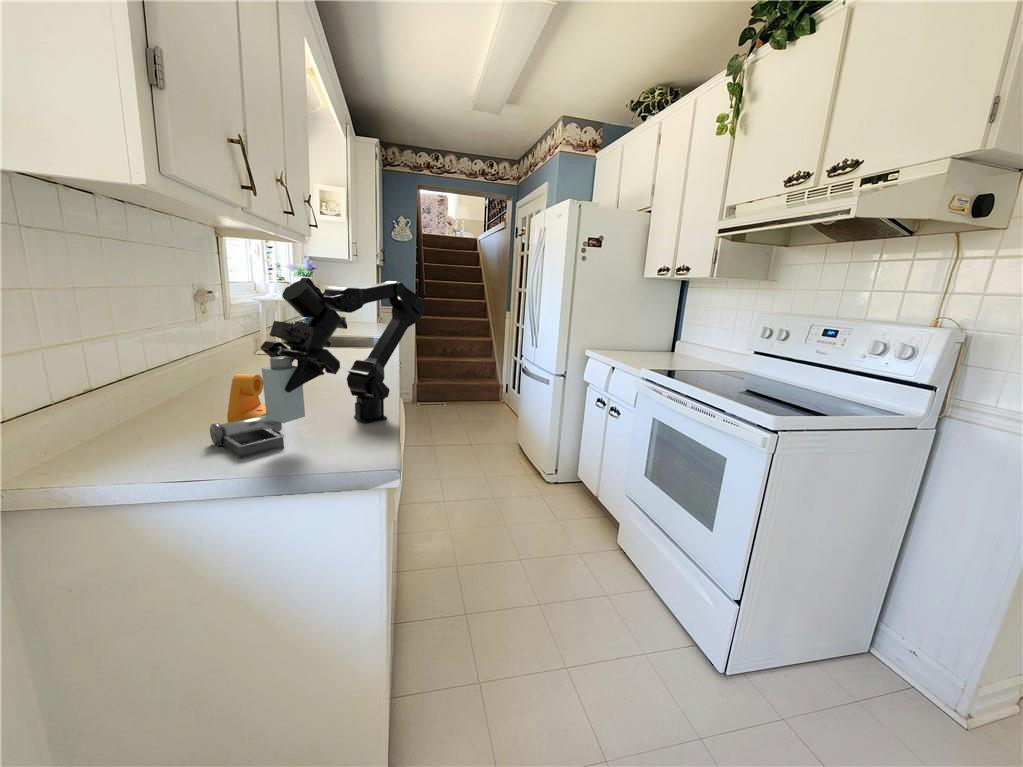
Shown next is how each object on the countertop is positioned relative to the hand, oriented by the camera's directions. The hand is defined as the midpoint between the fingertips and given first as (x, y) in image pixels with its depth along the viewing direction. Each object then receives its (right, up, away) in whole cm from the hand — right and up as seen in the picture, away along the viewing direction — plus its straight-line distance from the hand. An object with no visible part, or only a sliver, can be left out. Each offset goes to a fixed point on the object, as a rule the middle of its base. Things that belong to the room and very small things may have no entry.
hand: (277, 389), depth 87 cm
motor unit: (-8, -12, +6) cm, 16 cm away
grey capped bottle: (0, -6, +3) cm, 7 cm away
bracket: (-17, -8, +20) cm, 28 cm away
